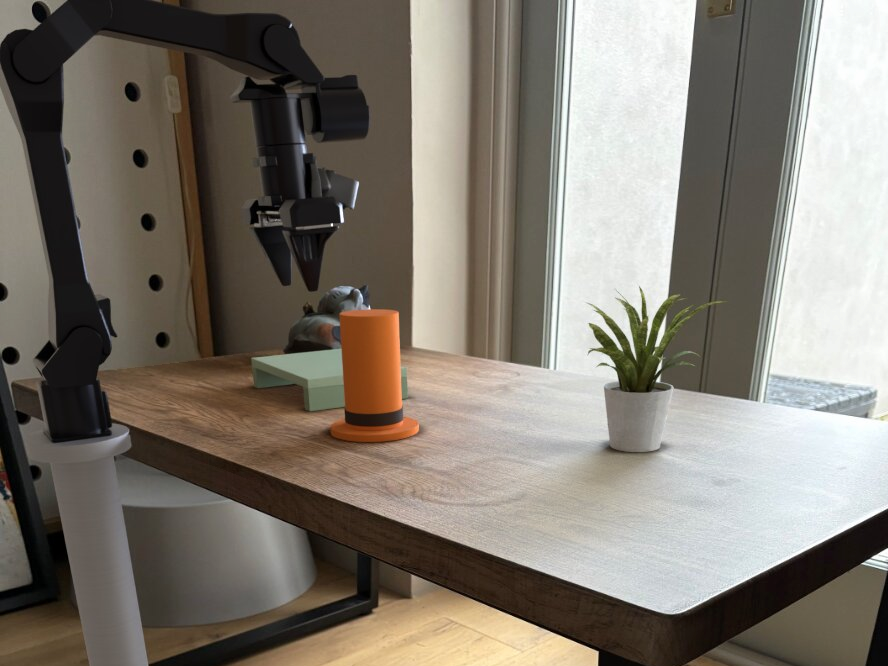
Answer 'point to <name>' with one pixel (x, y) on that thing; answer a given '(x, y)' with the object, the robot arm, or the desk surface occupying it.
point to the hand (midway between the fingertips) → (299, 288)
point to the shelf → (310, 376)
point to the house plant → (639, 376)
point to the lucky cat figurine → (325, 320)
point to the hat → (372, 378)
